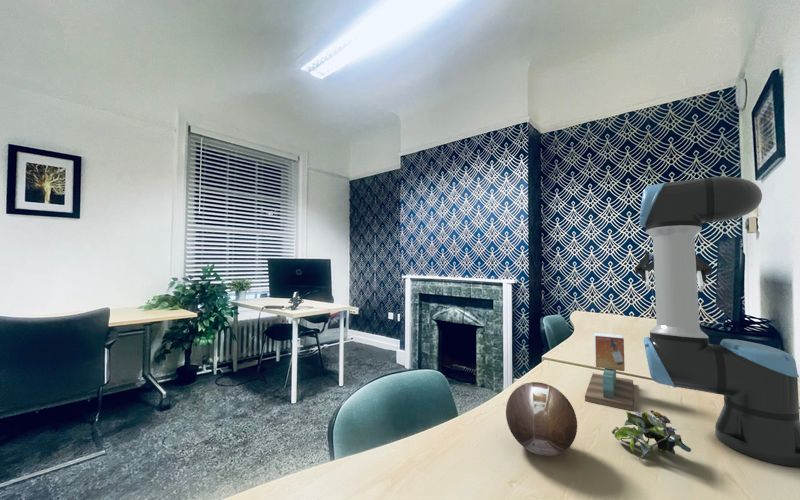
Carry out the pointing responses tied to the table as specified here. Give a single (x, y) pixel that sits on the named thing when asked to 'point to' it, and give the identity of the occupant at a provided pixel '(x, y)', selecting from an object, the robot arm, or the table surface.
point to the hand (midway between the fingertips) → (673, 288)
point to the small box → (609, 351)
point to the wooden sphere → (541, 419)
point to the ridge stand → (610, 390)
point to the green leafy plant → (650, 432)
